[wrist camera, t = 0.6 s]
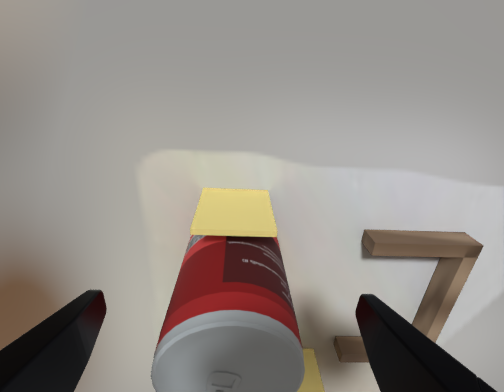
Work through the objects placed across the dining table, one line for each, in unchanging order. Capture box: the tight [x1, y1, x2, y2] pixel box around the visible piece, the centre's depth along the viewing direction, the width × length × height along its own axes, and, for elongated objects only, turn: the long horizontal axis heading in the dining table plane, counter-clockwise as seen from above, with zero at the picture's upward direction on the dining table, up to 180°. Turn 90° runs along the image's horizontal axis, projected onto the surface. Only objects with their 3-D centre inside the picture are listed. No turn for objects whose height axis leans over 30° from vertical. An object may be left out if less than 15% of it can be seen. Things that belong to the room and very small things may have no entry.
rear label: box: [190, 188, 277, 237], centre depth 18 cm, size 1×5×6 cm, turn 86°
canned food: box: [151, 235, 305, 392], centre depth 18 cm, size 8×8×11 cm
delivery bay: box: [334, 230, 483, 362], centre depth 25 cm, size 14×9×2 cm, turn 177°
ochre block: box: [297, 349, 325, 392], centre depth 27 cm, size 4×4×5 cm
